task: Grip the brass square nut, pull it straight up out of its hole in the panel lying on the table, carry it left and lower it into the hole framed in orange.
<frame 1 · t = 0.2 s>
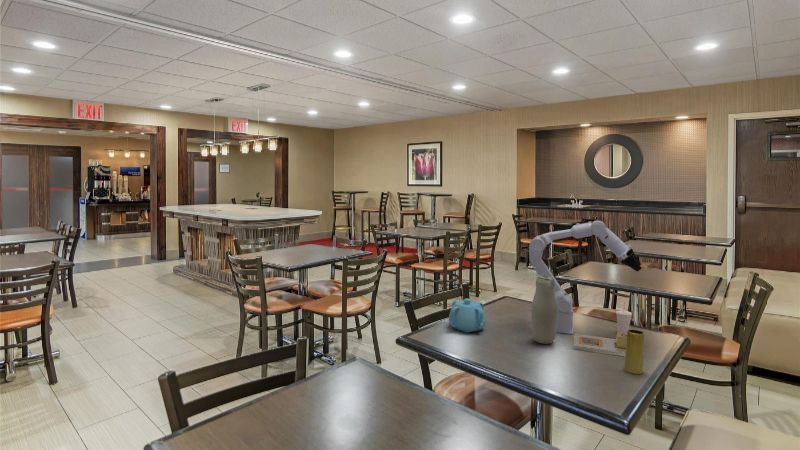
hand: (639, 267, 185), 31 cm above the table, tool tilted 45°, fingers open, 7 cm apart
vase: (633, 371, 159), on the table
panel: (606, 347, 180), on the table
smoothie: (622, 334, 196), on the table
glass bottle: (542, 343, 185), on the table
decorative pot: (466, 329, 201), on the table
brass nut: (623, 350, 178), resting in panel
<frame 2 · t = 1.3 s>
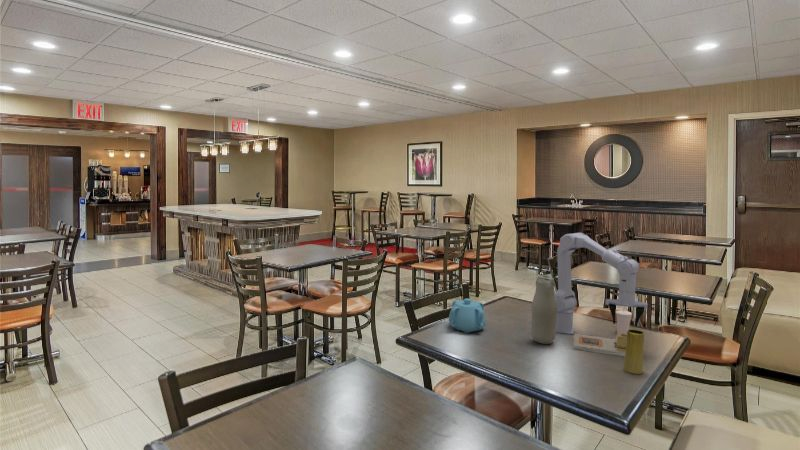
hand: (624, 324, 177), 10 cm above the table, tool pointing down, fingers open, 7 cm apart
nothing on the table moved.
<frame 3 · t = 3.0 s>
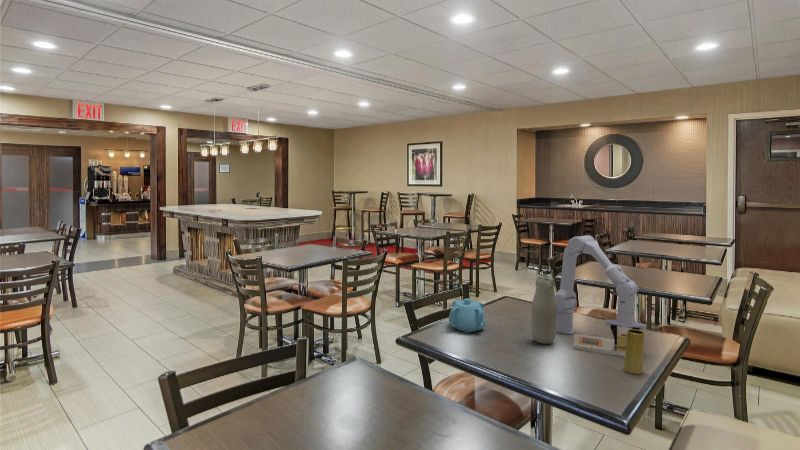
hand: (623, 344, 178), 2 cm above the table, tool pointing down, fingers closed on brass nut, 5 cm apart
brass nut: (623, 349, 178), resting in panel, touching gripper
everything else where it was.
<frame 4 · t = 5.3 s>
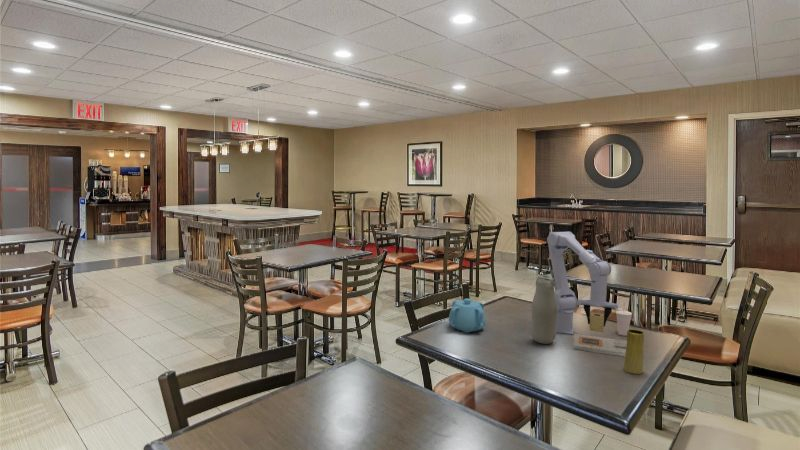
hand: (596, 324, 181), 9 cm above the table, tool pointing down, fingers closed on brass nut, 5 cm apart
brass nut: (596, 329, 181), point 7 cm above the table, touching gripper
everything else where it was.
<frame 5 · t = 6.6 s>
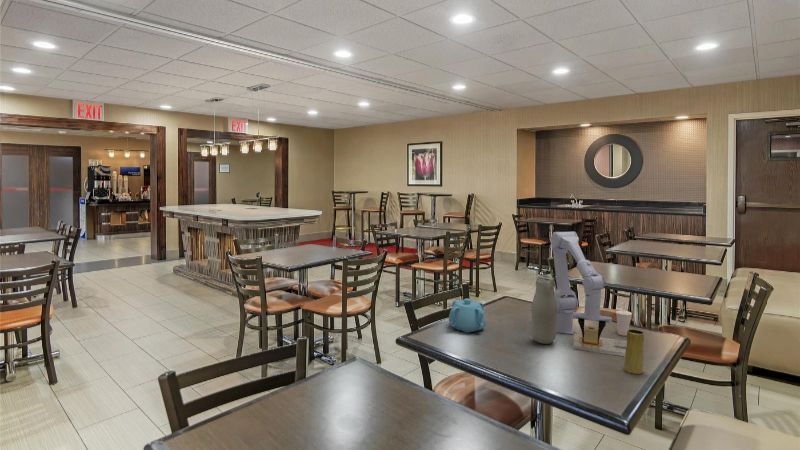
hand: (590, 337, 182), 3 cm above the table, tool pointing down, fingers closed on brass nut, 5 cm apart
brass nut: (590, 342, 182), point 1 cm above the table, touching gripper
everything else where it was.
when the fingers open (3 cm above the table, at t = 7.5 s): brass nut drops 1 cm, resting in panel.
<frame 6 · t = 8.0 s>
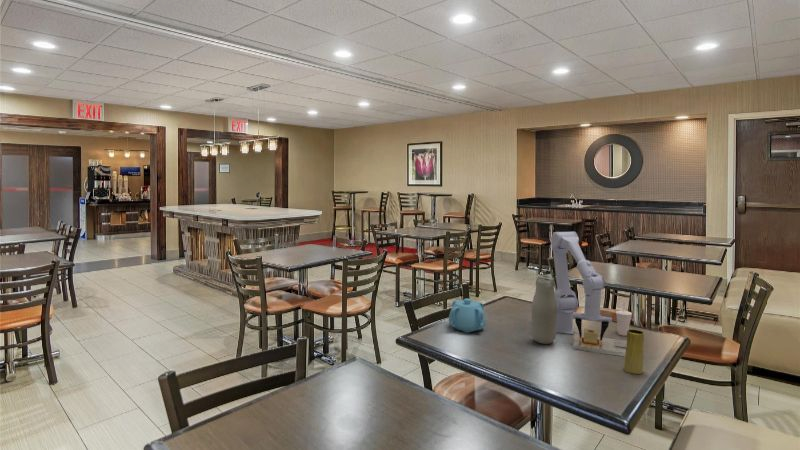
hand: (590, 338, 182), 3 cm above the table, tool pointing down, fingers open, 7 cm apart
brass nut: (590, 345, 182), resting in panel
everything else where it was.
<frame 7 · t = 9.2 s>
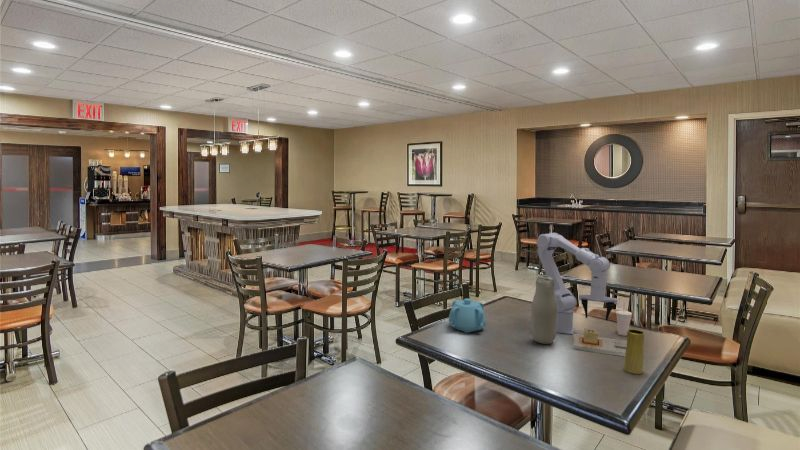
hand: (596, 318, 187), 9 cm above the table, tool pointing down, fingers open, 7 cm apart
nothing on the table moved.
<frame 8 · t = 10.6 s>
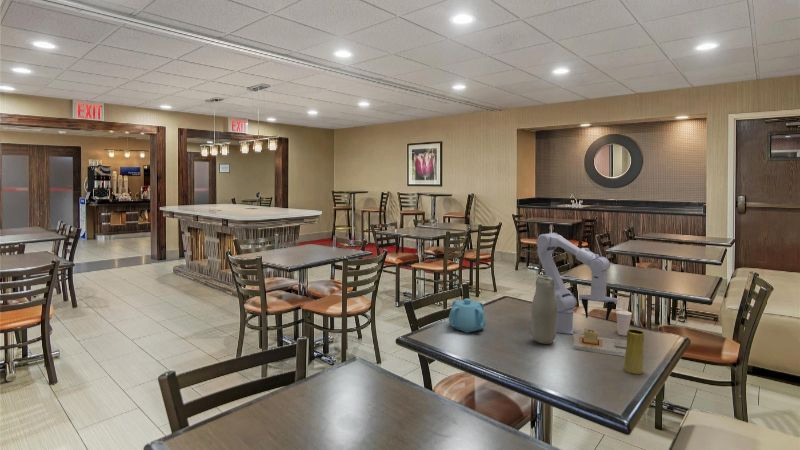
hand: (596, 318, 187), 9 cm above the table, tool pointing down, fingers open, 7 cm apart
nothing on the table moved.
at the end: brass nut 0.0 cm from the target spot, resting in panel; brass nut tilted 0°; the gripper is holding nothing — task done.
